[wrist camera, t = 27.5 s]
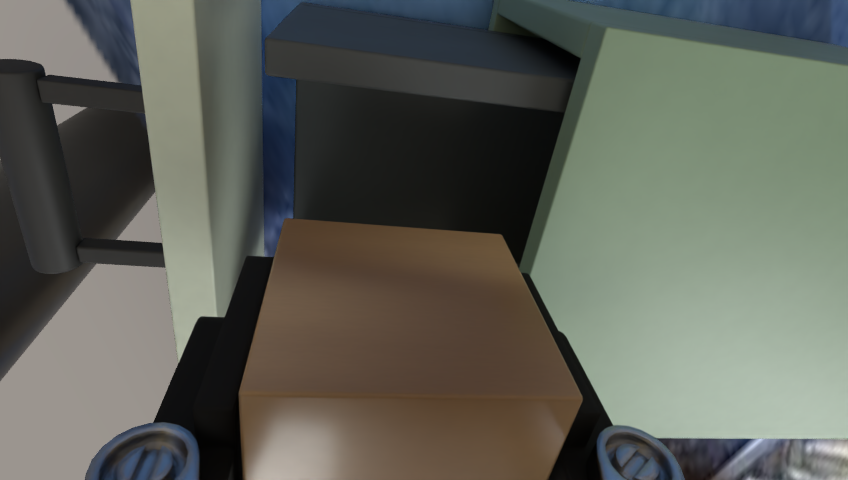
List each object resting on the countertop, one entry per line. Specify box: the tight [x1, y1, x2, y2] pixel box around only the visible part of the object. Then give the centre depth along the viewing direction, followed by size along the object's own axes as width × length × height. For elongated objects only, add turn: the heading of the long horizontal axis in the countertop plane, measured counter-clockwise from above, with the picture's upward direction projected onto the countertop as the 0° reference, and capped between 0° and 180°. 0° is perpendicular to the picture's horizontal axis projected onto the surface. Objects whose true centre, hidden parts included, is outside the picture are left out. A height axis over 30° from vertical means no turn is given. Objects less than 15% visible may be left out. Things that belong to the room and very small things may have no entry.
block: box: [238, 218, 583, 480], centre depth 9 cm, size 4×4×4 cm
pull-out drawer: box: [0, 0, 581, 363], centre depth 16 cm, size 18×11×8 cm, turn 81°
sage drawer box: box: [488, 0, 848, 439], centre depth 18 cm, size 15×13×10 cm
